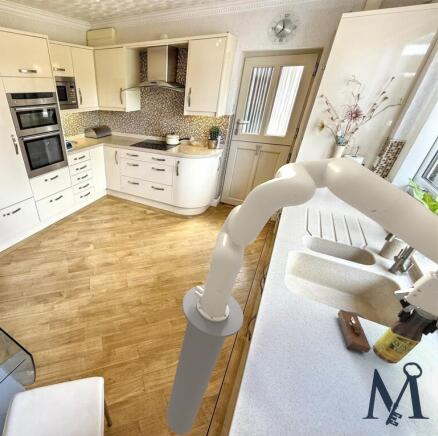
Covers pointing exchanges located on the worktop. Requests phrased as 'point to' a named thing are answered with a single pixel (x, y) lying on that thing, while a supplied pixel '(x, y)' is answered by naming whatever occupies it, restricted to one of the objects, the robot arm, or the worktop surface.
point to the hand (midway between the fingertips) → (412, 325)
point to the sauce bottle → (402, 336)
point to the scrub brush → (352, 332)
